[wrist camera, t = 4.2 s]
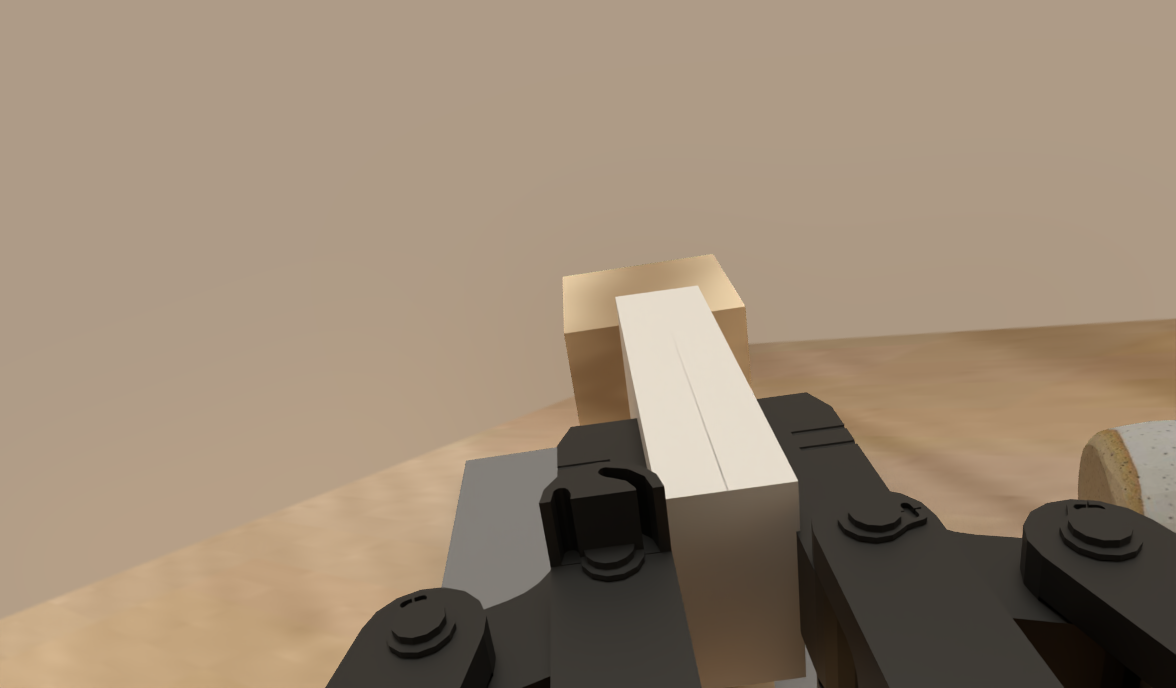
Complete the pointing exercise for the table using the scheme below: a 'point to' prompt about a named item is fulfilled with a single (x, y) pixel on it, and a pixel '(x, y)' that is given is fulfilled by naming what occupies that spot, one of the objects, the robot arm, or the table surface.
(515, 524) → the felt mat
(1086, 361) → the table surface
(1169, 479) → the ceramic mug
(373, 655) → the robot arm
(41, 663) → the table surface
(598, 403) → the beech block
